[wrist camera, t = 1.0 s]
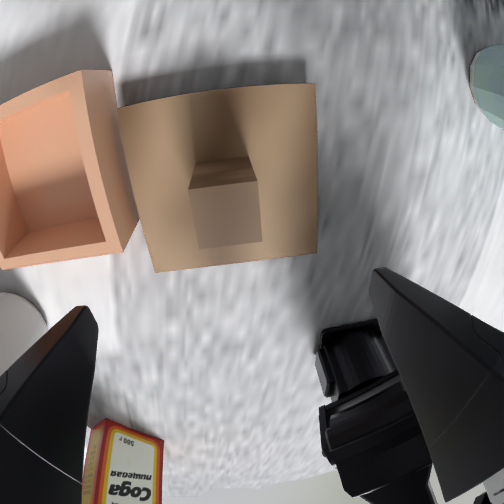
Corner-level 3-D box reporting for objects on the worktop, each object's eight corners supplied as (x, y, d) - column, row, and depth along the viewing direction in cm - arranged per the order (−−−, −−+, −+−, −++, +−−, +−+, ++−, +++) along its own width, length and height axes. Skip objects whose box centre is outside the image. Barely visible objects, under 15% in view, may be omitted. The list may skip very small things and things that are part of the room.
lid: (309, 83, 16) (345, 86, 11) (313, 245, 21) (337, 295, 17) (121, 107, 15) (84, 119, 11) (157, 264, 21) (143, 318, 16)
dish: (111, 70, 14) (81, 69, 11) (140, 217, 20) (122, 252, 16) (-5, 117, 14) (-45, 131, 10) (29, 237, 19) (1, 270, 16)
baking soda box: (91, 429, 36) (77, 520, 22) (106, 418, 34) (92, 522, 20) (144, 449, 40) (139, 536, 26) (163, 440, 38) (161, 537, 24)
